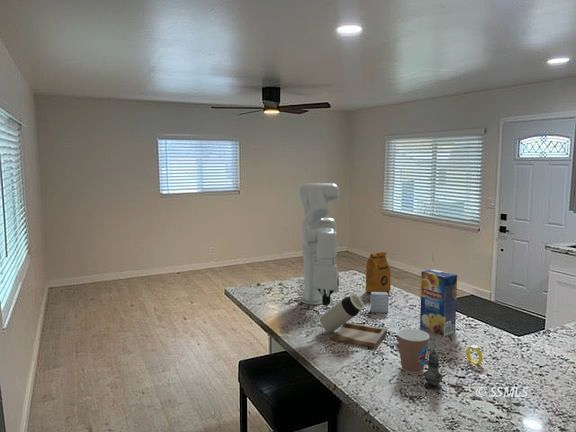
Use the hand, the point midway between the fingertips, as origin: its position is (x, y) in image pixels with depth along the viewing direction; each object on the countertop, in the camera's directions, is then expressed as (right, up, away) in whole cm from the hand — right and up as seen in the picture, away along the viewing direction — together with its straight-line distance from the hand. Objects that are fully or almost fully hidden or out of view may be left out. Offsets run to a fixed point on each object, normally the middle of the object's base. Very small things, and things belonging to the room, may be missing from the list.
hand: (326, 304), depth 176 cm
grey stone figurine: (+29, -16, -44) cm, 55 cm away
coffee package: (+33, -5, +56) cm, 65 cm away
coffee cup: (+26, -15, -32) cm, 44 cm away
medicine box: (+27, -9, +25) cm, 38 cm away
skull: (+32, -13, -12) cm, 36 cm away
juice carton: (+46, -11, +2) cm, 48 cm away
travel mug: (0, -8, +1) cm, 8 cm away
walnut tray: (+12, -12, -5) cm, 17 cm away
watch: (+48, -14, -29) cm, 58 cm away
